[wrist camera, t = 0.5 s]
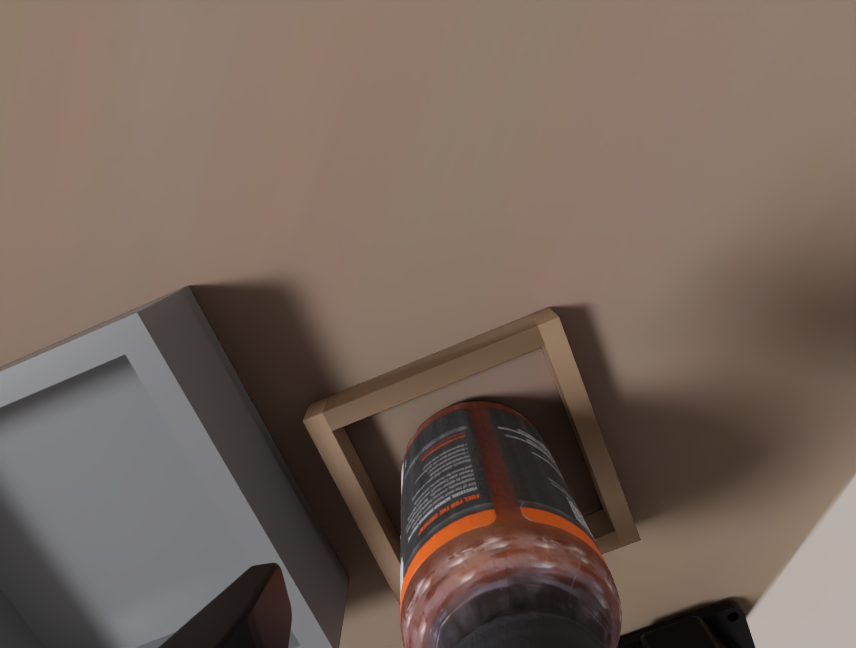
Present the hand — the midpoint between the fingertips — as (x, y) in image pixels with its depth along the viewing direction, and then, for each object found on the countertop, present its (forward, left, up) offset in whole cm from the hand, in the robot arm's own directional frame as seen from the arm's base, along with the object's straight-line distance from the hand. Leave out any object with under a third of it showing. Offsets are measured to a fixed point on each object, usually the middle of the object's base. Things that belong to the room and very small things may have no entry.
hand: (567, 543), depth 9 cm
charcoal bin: (-2, +16, -13) cm, 21 cm away
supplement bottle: (-6, +2, -13) cm, 15 cm away
